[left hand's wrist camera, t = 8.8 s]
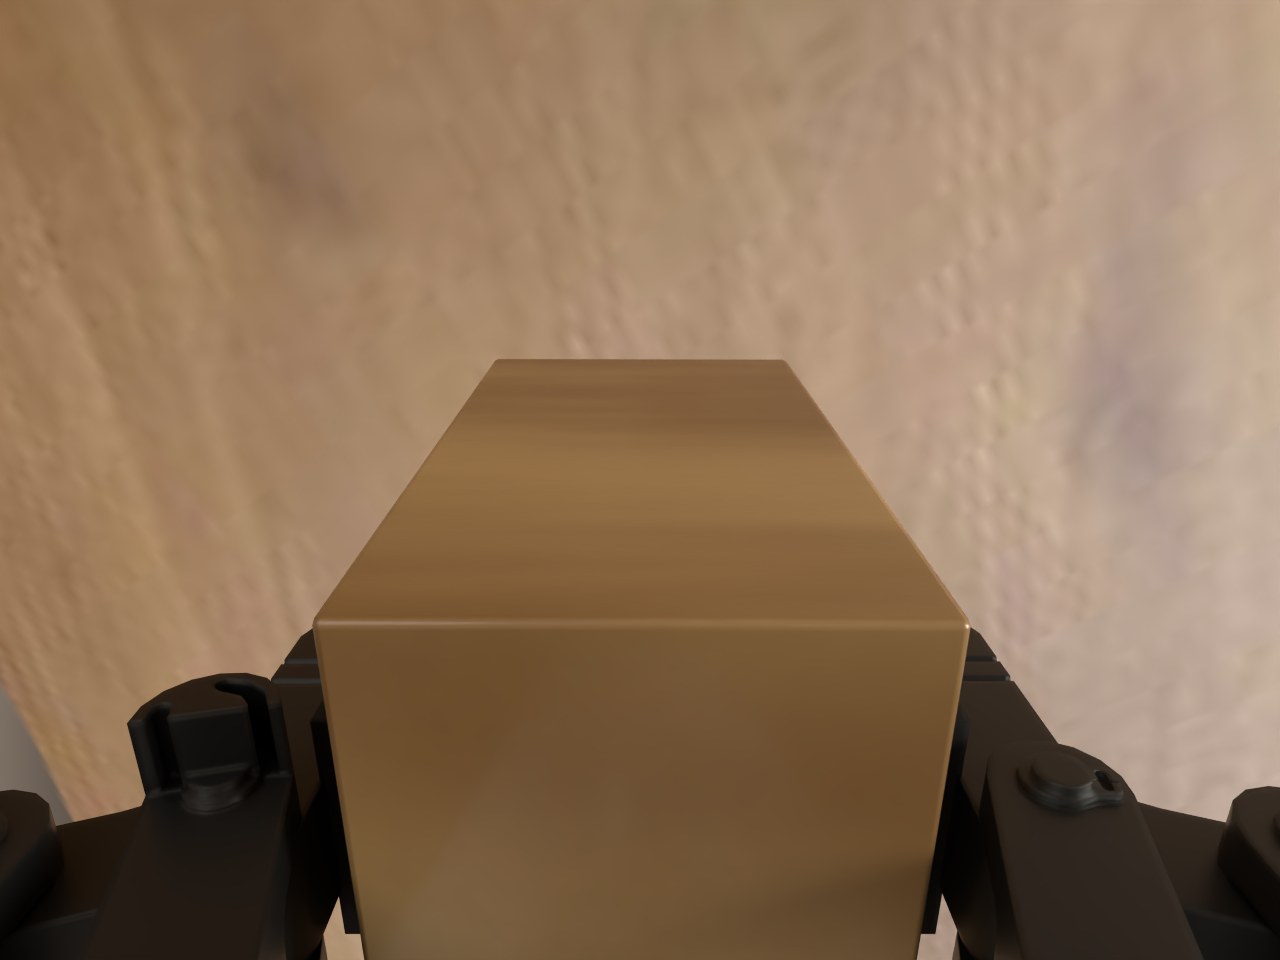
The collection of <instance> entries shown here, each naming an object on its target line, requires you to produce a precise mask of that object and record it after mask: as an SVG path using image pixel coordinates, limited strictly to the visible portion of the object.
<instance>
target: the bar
mask: <svg viewBox="0 0 1280 960" xmlns="http://www.w3.org/2000/svg"><path fill="white" fill-rule="evenodd" d="M312 626H313V633H314V640H315V646H316V653H317V659H318V665H319V672H320V678H321V685H322V691H323V697H324V704H325V710H326V717H327V723H328V730H329V736H330V742H331V749H332V755H333V762H334V768H335V774H336V781H337V787H338V794H339V800H340V807H341V813H342V819H343V826H344V832H345V839H346V845H347V851H348V858H349V864H350V871H351V877H352V883H353V890H354V896H355V903H356V909H357V916H358V922H359V928H360V935H361V941H362V948H363V954H364V960H917V955H918V948H919V942H920V936H921V930H922V924H923V918H924V911H925V905H926V899H927V893H928V887H929V881H930V874H931V868H932V862H933V856H934V850H935V844H936V837H937V831H938V825H939V819H940V813H941V806H942V800H943V794H944V788H945V782H946V776H947V769H948V763H949V757H950V751H951V745H952V739H953V732H954V726H955V720H956V714H957V708H958V702H959V695H960V689H961V683H962V677H963V671H964V665H965V658H966V652H967V646H968V640H969V634H970V623H969V620H968V618H967V616H966V615H965V614H964V612H963V611H962V609H961V608H960V606H959V605H958V604H957V602H956V601H955V599H954V598H953V597H952V595H951V594H950V592H949V591H948V589H947V588H946V587H945V585H944V584H943V582H942V581H941V580H940V578H939V577H938V575H937V574H936V573H935V571H934V570H933V568H932V567H931V565H930V564H929V563H928V561H927V560H926V558H925V557H924V556H923V554H922V553H921V551H920V550H919V548H918V547H917V546H916V544H915V543H914V541H913V540H912V539H911V537H910V536H909V534H908V533H907V532H906V530H905V529H904V527H903V526H902V524H901V523H900V522H899V520H898V519H897V517H896V516H895V515H894V513H893V512H892V510H891V509H890V508H889V506H888V505H887V503H886V502H885V500H884V499H883V498H882V496H881V495H880V493H879V492H878V491H877V489H876V488H875V486H874V485H873V483H872V482H871V481H870V479H869V478H868V476H867V475H866V474H865V472H864V471H863V469H862V468H861V467H860V465H859V464H858V462H857V461H856V459H855V458H854V457H853V455H852V454H851V452H850V451H849V450H848V448H847V447H846V445H845V444H844V443H843V441H842V440H841V438H840V437H839V435H838V434H837V433H836V431H835V430H834V428H833V427H832V426H831V424H830V423H829V421H828V420H827V418H826V417H825V416H824V414H823V413H822V411H821V410H820V409H819V407H818V406H817V404H816V403H815V402H814V400H813V399H812V397H811V396H810V394H809V393H808V392H807V390H806V389H805V387H804V386H803V385H802V383H801V382H800V380H799V379H798V378H797V376H796V375H795V373H794V372H793V370H792V369H791V368H790V366H789V365H788V363H787V362H786V361H784V360H621V359H498V360H496V361H495V362H494V363H493V365H492V366H491V368H490V369H489V370H488V372H487V373H486V375H485V376H484V378H483V379H482V380H481V382H480V383H479V385H478V386H477V388H476V389H475V390H474V392H473V393H472V395H471V396H470V398H469V399H468V400H467V402H466V403H465V405H464V406H463V407H462V409H461V410H460V412H459V413H458V415H457V416H456V417H455V419H454V420H453V422H452V423H451V425H450V426H449V427H448V429H447V430H446V432H445V433H444V434H443V436H442V437H441V439H440V440H439V442H438V443H437V444H436V446H435V447H434V449H433V450H432V452H431V453H430V454H429V456H428V457H427V459H426V460H425V461H424V463H423V464H422V466H421V467H420V469H419V470H418V471H417V473H416V474H415V476H414V477H413V479H412V480H411V481H410V483H409V484H408V486H407V487H406V488H405V490H404V491H403V493H402V494H401V496H400V497H399V498H398V500H397V501H396V503H395V504H394V506H393V507H392V508H391V510H390V511H389V513H388V514H387V516H386V517H385V518H384V520H383V521H382V523H381V524H380V525H379V527H378V528H377V530H376V531H375V533H374V534H373V535H372V537H371V538H370V540H369V541H368V543H367V544H366V545H365V547H364V548H363V550H362V551H361V552H360V554H359V555H358V557H357V558H356V560H355V561H354V562H353V564H352V565H351V567H350V568H349V570H348V571H347V572H346V574H345V575H344V577H343V578H342V579H341V581H340V582H339V584H338V585H337V587H336V588H335V589H334V591H333V592H332V594H331V595H330V597H329V598H328V599H327V601H326V602H325V604H324V605H323V606H322V608H321V609H320V611H319V612H318V614H317V615H316V616H315V618H314V621H313V624H312Z"/></svg>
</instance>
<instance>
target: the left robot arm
mask: <svg viewBox="0 0 1280 960" xmlns="http://www.w3.org/2000/svg"><path fill="white" fill-rule="evenodd" d="M127 726H128V729H129V733H130V737H131V741H132V745H133V749H134V753H135V756H136V760H137V764H138V768H139V772H140V776H141V779H142V783H143V787H144V791H145V795H146V796H145V799H144V801H143V804H142V806H140V807H136V808H133V809H129V810H126V811H122V812H118V813H114V814H109V815H104V816H100V817H95V818H91V819H86V820H82V821H77V822H72V823H68V824H64V825H59V826H56V825H55V822H54V818H53V815H52V812H51V809H50V806H49V804H48V803H47V802H46V801H45V800H44V799H42V798H41V797H40V796H39V795H38V794H36V793H31V792H24V791H18V790H7V791H0V960H327V953H326V947H325V941H324V936H323V934H324V931H325V929H326V926H327V924H328V921H329V919H330V917H331V914H332V912H333V909H334V907H335V904H336V902H337V899H338V897H339V899H340V905H341V911H342V917H343V923H344V929H345V934H360V928H359V922H358V916H357V909H356V903H355V896H354V890H353V883H352V877H351V871H350V864H349V858H348V851H347V845H346V839H345V832H344V826H343V819H342V813H341V807H340V800H339V794H338V787H337V781H336V774H335V768H334V762H333V755H332V749H331V742H330V736H329V730H328V723H327V717H326V710H325V704H324V697H323V691H322V685H321V678H320V672H319V665H318V659H317V653H316V646H315V640H314V633H313V629H311V630H310V631H308V632H307V633H305V634H304V635H302V636H301V637H300V639H299V640H298V641H297V643H296V644H295V646H294V647H293V649H292V650H291V651H290V653H289V654H288V656H287V657H286V659H285V663H284V664H281V666H280V667H279V668H278V670H277V671H276V673H275V674H274V676H273V677H272V678H271V681H270V680H269V679H268V678H265V677H261V676H257V675H253V674H249V673H224V674H216V675H212V676H207V677H202V678H198V679H193V680H190V681H188V682H185V683H183V684H180V685H178V686H175V687H173V688H171V689H168V690H166V691H163V692H162V693H160V694H159V695H157V696H156V697H154V698H153V699H151V700H150V701H148V702H147V703H145V704H144V705H142V706H141V707H140V708H139V710H138V711H137V712H136V713H135V714H134V716H133V717H132V718H131V719H130V720H129V722H128V723H127ZM942 894H943V896H944V899H945V901H946V903H947V906H948V908H949V911H950V913H951V916H952V918H953V921H954V923H955V925H956V928H957V936H956V941H955V947H954V952H953V958H952V960H1280V787H1272V786H1266V787H1260V788H1253V789H1247V790H1245V791H1244V792H1242V793H1241V794H1240V795H1239V796H1238V797H1236V798H1235V799H1234V800H1233V802H1232V805H1231V808H1230V811H1229V814H1228V818H1227V821H1226V823H1225V822H1220V821H1216V820H1211V819H1207V818H1202V817H1197V816H1193V815H1188V814H1184V813H1179V812H1174V811H1170V810H1165V809H1161V808H1157V807H1154V806H1150V805H1147V804H1143V803H1140V802H1137V800H1136V797H1135V795H1134V794H1133V792H1132V791H1131V789H1130V788H1129V786H1128V785H1127V784H1126V782H1125V781H1124V779H1123V778H1122V777H1121V776H1120V775H1119V774H1118V773H1116V772H1115V771H1114V770H1112V769H1111V768H1110V767H1109V766H1107V765H1106V764H1105V763H1103V762H1102V761H1101V760H1099V759H1097V758H1095V757H1093V756H1091V755H1088V754H1086V753H1084V752H1082V751H1080V750H1078V749H1076V748H1074V747H1070V746H1066V745H1062V744H1058V743H1057V741H1056V740H1055V739H1054V737H1053V736H1052V734H1051V733H1050V732H1049V730H1048V729H1047V727H1046V726H1045V725H1044V723H1043V722H1042V720H1041V719H1040V718H1039V716H1038V715H1037V713H1036V712H1035V710H1034V709H1033V708H1032V706H1031V705H1030V703H1029V702H1028V701H1027V699H1026V698H1025V696H1024V695H1023V694H1022V692H1021V691H1020V689H1019V688H1018V687H1017V685H1016V684H1015V682H1014V681H1010V675H1009V674H1008V672H1007V671H1006V670H1005V668H1004V667H1003V665H1002V664H1001V663H1000V662H997V660H996V656H995V654H994V653H993V651H992V650H991V648H990V647H989V646H988V644H987V643H986V641H985V640H984V639H983V637H982V636H981V634H980V633H978V632H977V631H975V630H974V629H972V628H971V627H970V634H969V640H968V646H967V652H966V658H965V665H964V671H963V677H962V683H961V689H960V695H959V702H958V708H957V714H956V720H955V726H954V732H953V739H952V745H951V751H950V757H949V763H948V769H947V776H946V782H945V788H944V794H943V800H942V806H941V813H940V819H939V825H938V831H937V837H936V844H935V850H934V856H933V862H932V868H931V874H930V881H929V887H928V893H927V899H926V905H925V911H924V918H923V924H922V930H921V934H935V933H936V927H937V921H938V915H939V909H940V903H941V897H942Z"/></svg>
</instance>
